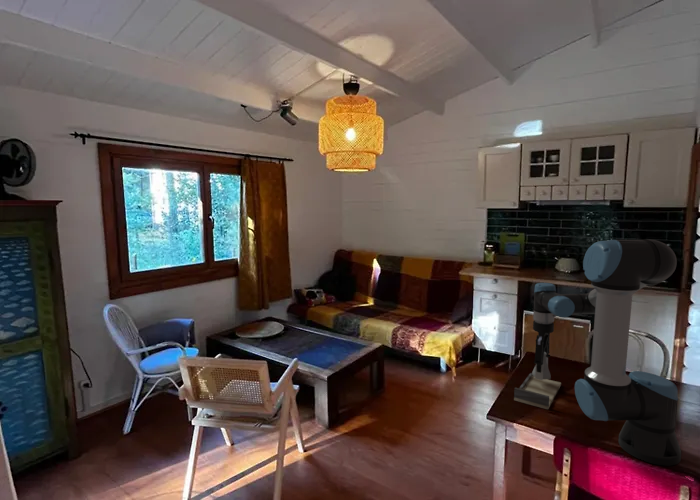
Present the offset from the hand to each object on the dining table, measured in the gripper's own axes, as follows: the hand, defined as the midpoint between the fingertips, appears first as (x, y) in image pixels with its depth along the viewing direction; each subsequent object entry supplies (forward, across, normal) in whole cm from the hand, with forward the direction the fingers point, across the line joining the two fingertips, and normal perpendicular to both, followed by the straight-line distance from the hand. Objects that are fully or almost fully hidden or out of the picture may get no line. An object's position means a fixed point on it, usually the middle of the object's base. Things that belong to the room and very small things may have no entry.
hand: (541, 375), depth 161 cm
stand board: (+5, -5, 0) cm, 7 cm away
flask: (+1, 0, 0) cm, 1 cm away
